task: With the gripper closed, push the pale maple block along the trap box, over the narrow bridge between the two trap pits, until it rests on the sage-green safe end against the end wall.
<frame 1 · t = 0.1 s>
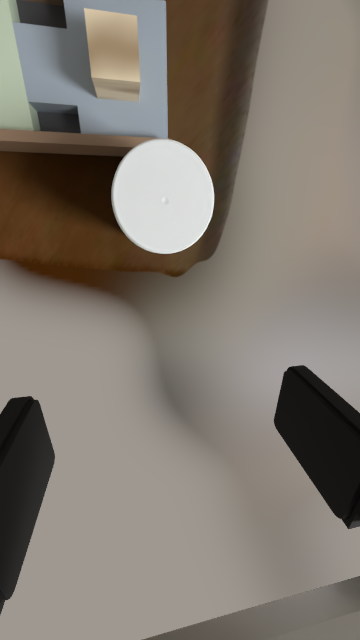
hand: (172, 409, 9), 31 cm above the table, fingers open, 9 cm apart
maple block: (116, 73, 26), point 3 cm above the table, touching trap box
trap box: (59, 81, 27), on the table
supplement tub: (151, 207, 35), on the table
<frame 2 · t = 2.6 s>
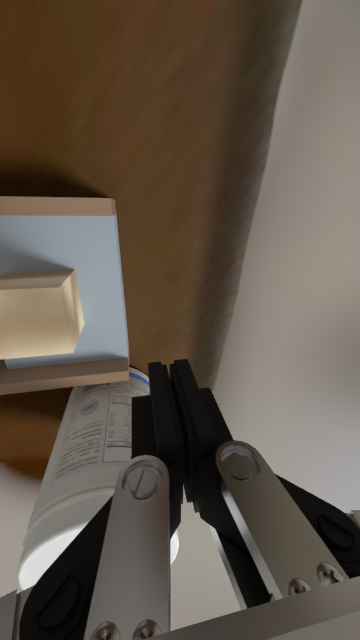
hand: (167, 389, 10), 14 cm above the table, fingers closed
maple block: (49, 299, 18), point 3 cm above the table, touching trap box
supplement tub: (115, 394, 27), on the table
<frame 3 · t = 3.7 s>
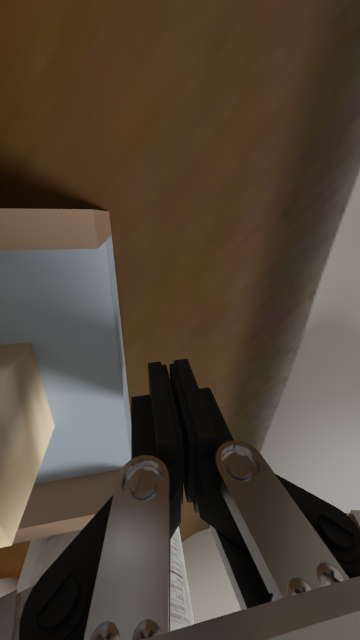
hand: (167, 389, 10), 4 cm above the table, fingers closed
supplement tub: (112, 491, 19), on the table
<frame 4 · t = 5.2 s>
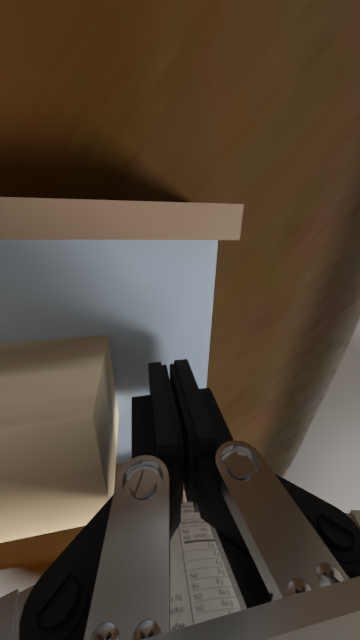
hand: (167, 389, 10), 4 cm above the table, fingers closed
maple block: (61, 384, 11), point 3 cm above the table, touching gripper
supplement tub: (162, 478, 19), on the table
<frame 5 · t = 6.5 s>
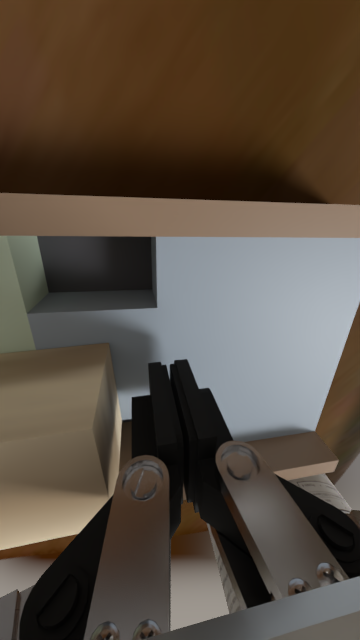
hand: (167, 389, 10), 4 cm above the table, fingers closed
maple block: (64, 391, 11), point 3 cm above the table, touching gripper
trap box: (118, 339, 14), on the table
supplement tub: (248, 461, 21), on the table
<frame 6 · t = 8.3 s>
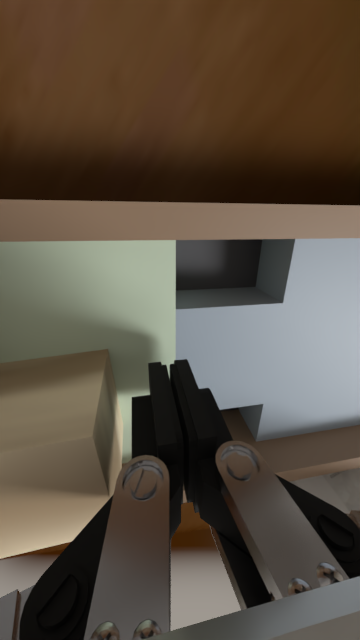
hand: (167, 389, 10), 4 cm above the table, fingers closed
maple block: (66, 397, 11), point 3 cm above the table, touching gripper, trap box
trap box: (216, 334, 15), on the table
supplement tub: (310, 452, 22), on the table
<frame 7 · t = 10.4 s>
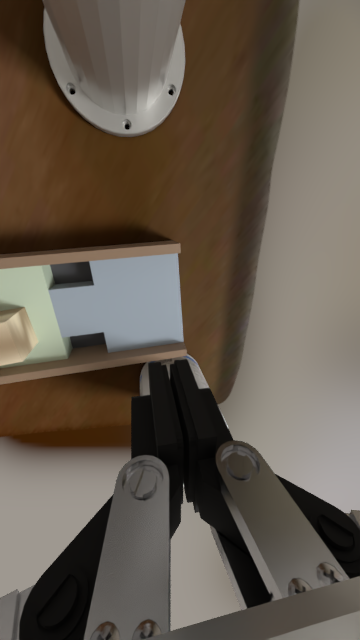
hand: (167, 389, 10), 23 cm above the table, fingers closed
maple block: (11, 328, 28), point 3 cm above the table, touching trap box
trap box: (86, 303, 31), on the table
supplement tub: (169, 373, 38), on the table
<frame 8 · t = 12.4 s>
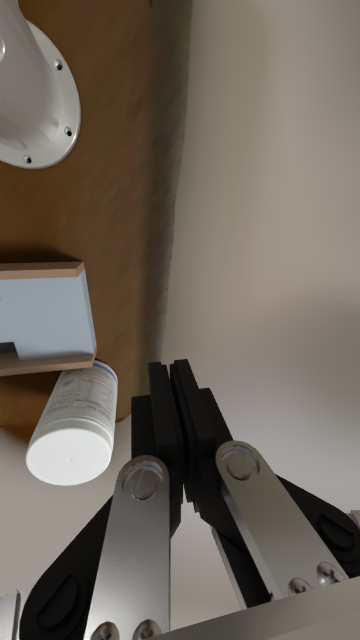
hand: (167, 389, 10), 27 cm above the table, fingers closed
trap box: (1, 314, 34), on the table
supplement tub: (89, 379, 41), on the table
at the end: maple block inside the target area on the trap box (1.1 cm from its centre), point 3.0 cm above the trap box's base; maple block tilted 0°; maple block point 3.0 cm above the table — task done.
